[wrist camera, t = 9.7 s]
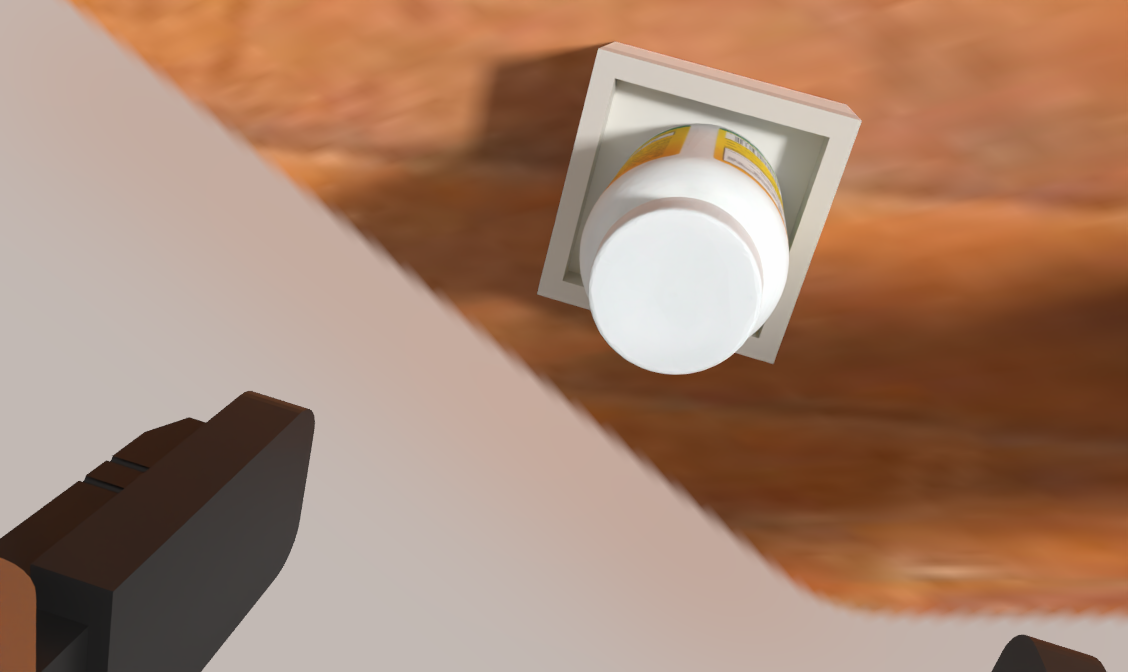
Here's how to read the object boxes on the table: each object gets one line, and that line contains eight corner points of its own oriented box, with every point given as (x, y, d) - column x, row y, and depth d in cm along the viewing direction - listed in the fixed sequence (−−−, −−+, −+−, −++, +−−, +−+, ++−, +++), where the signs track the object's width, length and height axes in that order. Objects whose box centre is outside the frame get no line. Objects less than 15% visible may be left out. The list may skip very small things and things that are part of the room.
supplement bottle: (794, 131, 29) (818, 194, 20) (765, 296, 31) (775, 419, 22) (621, 111, 30) (570, 163, 21) (603, 273, 32) (549, 384, 23)
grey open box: (846, 104, 31) (861, 120, 27) (769, 321, 34) (773, 364, 30) (615, 41, 32) (598, 48, 28) (559, 260, 35) (536, 294, 31)
